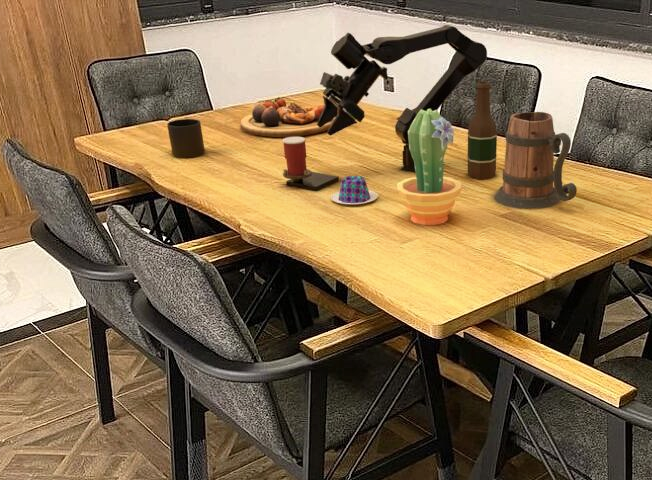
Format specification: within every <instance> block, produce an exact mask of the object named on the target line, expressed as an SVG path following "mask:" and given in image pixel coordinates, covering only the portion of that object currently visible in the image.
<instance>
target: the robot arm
mask: <svg viewBox="0 0 652 480" xmlns="http://www.w3.org/2000/svg"><path fill="white" fill-rule="evenodd" d="M447 44H448V46H450V48H451V49H453V50H454V51H455V52H454V53H453V57H452V60H451V64H450V66H449V67H448V68H447V69H446V70H445V72H444V73H443V74H442V75H441V77H439V79H438V80H437V82H436V83H435V84H434V85H433V86H432V87H431V89H430V90H429V91H428V93H427V94H426V95H425V97H423V99H422V100H421V101H420V102H419V104H418V105H417V106H416V107H415V108H413V109H410V108H408V107H406V108H405V109H404V110H403V112H402V114H401V115H400V116H399V117H397V118H396V120H397V121H396V123H395V125H394V131H395V134H396V136H397V137H398V138H400V140H401V143H402V144H404V145H403V150H402V152H401V153H402V166H401V167H400V170H402V171H409V172H414V173H416V172H415V165H414V160H413V157H412V155H411V152H410V150H409V139H408V130H409V128H410V126H411V124H412V122H413V121H414V119H415V117H416V116H417V114H418V112H419V111H420V110H424V111H426V112H427V110H428V109H431V110H432V111H435V110H437V111H438V110H439V109H440V107H441V106H442V105H443V104H444V102H445V101H446V100H447V99H448V98H449V96H450V95H451V94H452V93H453V91H454V90H455V89H456V88H457V87H458V85H459V84H460V83H461V82H462V81H463V79H464V78H465V77H467V76H468V75H470V74H472V73H473V72H474V73H475V71H476V70H478V69H479V68H480V67H481V66H482V65H484V63H485V62H486V60H487V58H488V49H487V47H486V45H484V43H481V42H478V41H475V40H474V39H471V38H469V37H468V36H467V35H466V34H464V33H462V32H461V31H460V30H459V29H458V28H457V27H455V26H454V25H450V24H444V25H443V26H440V27H436V28H432V29H428V30H425V31H421V32H417V33H412V34H409V35H405V36H378V37H376V38H374V39H373V40H372V42H370V43H366V44H361V43H360V42H359V41H357V39H356V38H355V36H354V35H353V33H350V32H347V33H345V35H344V36H342V37H341V38H339V39H338V40H337V41H335V43H334V44H333V46H332V48H331V50H330V54H331V55H332V56H333V57H334V58H335V59H336V60H337V61H338V62H339V63H340V64H341V65H342V66H343V67H345V69H347V70H351V69H353V72H352V73H351V74H350V76H349V75H345V76H342V75H340V74H338V73H334V74H330V73H328V72H326V71H323V73H322V76H321V79H320V82H319V85H320V86H322V87H324V88H325V89H324V90H323V91H322V94H323V95H322V99H323V105H324V108H323V111H322V113H321V116H320V118H319V121H318V123H317V125H318V126H319V127H322V126H324V125H325V124H326V123H328V122H329V121H331V120H332V119H333V118H335V117H336V118H335V119H334V121H333V123H332V124H331V126H330V128H329V130H327V132H326V134H327V135H328V136H330V137H331V136H332V135H334V134H337V133H339V132H340V131H342V130H344V129H347V128H349V127H350V126H352V125H355V124H356V125H357V124H358V123H361V122H362V121H363V120H364V119H365V118H366V117H365V115H366V114H365V111H364V109H363V108H361V107H360V106H359V103H360V102H361V101H362V100H363V98H364V97H366V98H367V97H368V96H369V95H370V93H369V90H370V89H371V88H372V86H374V84H375V82H376V81H377V80H378V78H379V77H381V78H382V79H383V80H387V81H388V79H389V77H388V67H385V66H381V65H380V64H378V63H377V61H378V62H380V63H382V64H384V65H392V64H394V63H396V62H398V61H400V60H402V59H404V58H405V57H406V56H408V55H409V54H412V53H416V52H420V51H423V50H424V51H425V50H427V49H428V50H429V49H431V48H435V47H439V46H443V45H447ZM366 56H367V57H369V58H371V59H373V60H369V59H368V58H367V57H366Z"/></svg>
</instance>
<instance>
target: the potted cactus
mask: <svg viewBox="0 0 652 480" xmlns="http://www.w3.org/2000/svg"><path fill="white" fill-rule="evenodd" d="M454 135H455V130H454V128H453V125H452V123H451V122H450V121H448V120H447V119H446V118H444V117H443V116H442V115H441V114H440V113H439V111H438V110H435V111H432V110H431V109H428V110H427V112H426V111H424V110H420V111H419V112H418V114H417V116H416V117H415V119H414V121H413V122H412V124H411V126H410V128H409V130H408V139H409V150H410V152H411V155H412V157H413V160H414V165H415V172H414V173H415V176H414V177H409V178H405V179H403V180H401V181H400V182H398V183H396V190H397V194H398V196H399V197H401V199H402V203H403V205H404V207H405V209H406V210H407V212H408V213H409V214H410V215H411V216H410V221H411V222H413V223H415V224H417V225H424V226H435V225H440V224H444V223H446V222H447V221H448V220H449V216H448V214H450V212H451V210H452V209H453V208H454V206H455V203H456V200H457V197H458V196H459V195H460V194H461V191H462V183H461V182H460V181H459V180H456V179H454V178H452V177H448V176H444V162H445V160H444V159H445V156H446V153H447V149H448V144H450V145H454Z"/></svg>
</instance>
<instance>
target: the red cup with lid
mask: <svg viewBox="0 0 652 480" xmlns="http://www.w3.org/2000/svg"><path fill="white" fill-rule="evenodd" d="M306 141H307V140H306V138H305V137H304V136H290V137H283V138H282V143H283V152H284V153H283V154H284V159H285V160H286V170H288V174H289V175H303V174H304V170H307V169H308V168H307V159H306V158H307V157H308V156H307V147H306Z"/></svg>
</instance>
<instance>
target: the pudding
mask: <svg viewBox="0 0 652 480" xmlns="http://www.w3.org/2000/svg"><path fill="white" fill-rule="evenodd" d="M378 197H379V194H378V193H377V192H376V191H374V190H371V189H369V188H368V184H367V181H366V180H365V177H363V176H360V175H349V176H346V177H343V178H342V180H341V182H340V188H339V191H335V192H334V193H332V194H331V195H330V200H331V201H333V202H335V203H338V204H343V205H361V204H368V203H370V202H372V201H375V200H376V199H378Z"/></svg>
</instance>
